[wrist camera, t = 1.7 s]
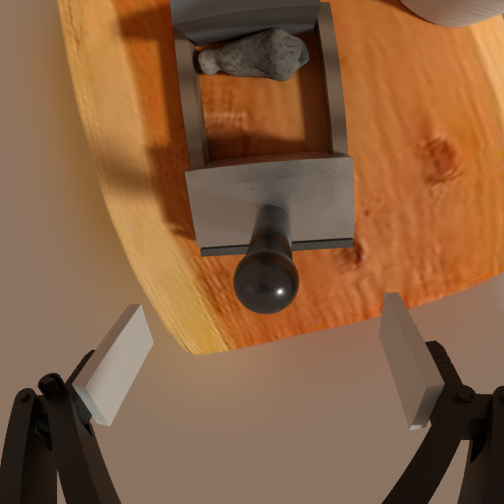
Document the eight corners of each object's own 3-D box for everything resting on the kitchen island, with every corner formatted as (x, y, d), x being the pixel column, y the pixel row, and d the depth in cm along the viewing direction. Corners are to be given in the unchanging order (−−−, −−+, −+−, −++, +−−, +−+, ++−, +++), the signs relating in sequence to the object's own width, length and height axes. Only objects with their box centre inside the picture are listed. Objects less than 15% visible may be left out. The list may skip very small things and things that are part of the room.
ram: (195, 162, 33) (114, 208, 17) (344, 149, 31) (404, 183, 15) (207, 234, 36) (148, 328, 20) (346, 224, 34) (393, 318, 18)
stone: (201, 77, 30) (228, 115, 27) (186, 40, 25) (212, 71, 22) (280, 46, 30) (318, 78, 27) (273, 8, 25) (315, 34, 22)
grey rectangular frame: (179, 27, 27) (148, 3, 19) (326, 9, 25) (339, -23, 17) (209, 244, 37) (188, 280, 29) (346, 235, 35) (363, 270, 27)
